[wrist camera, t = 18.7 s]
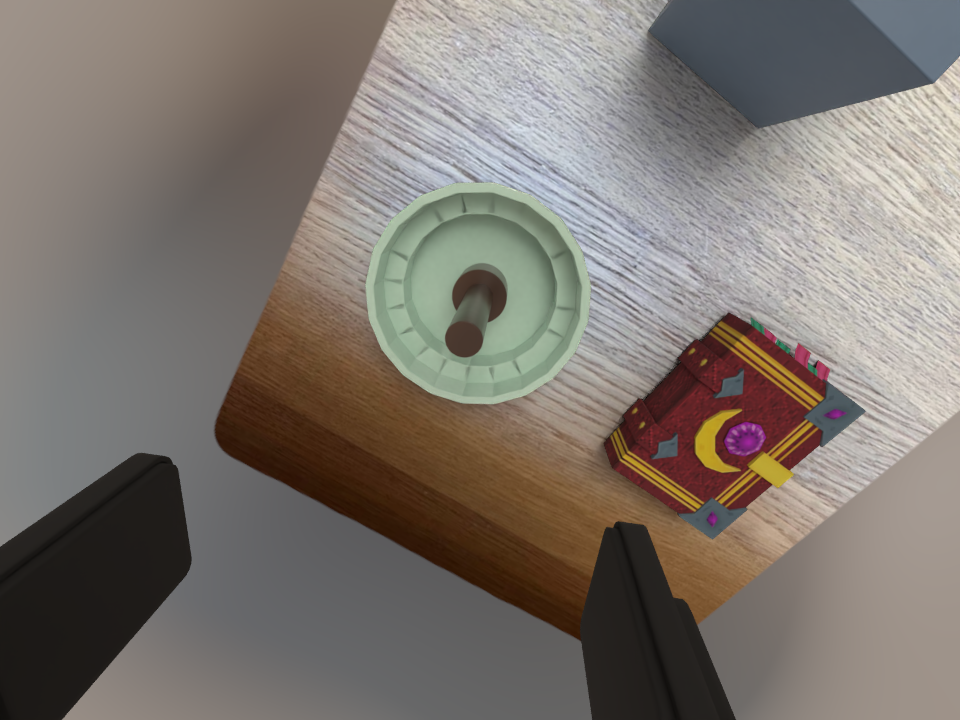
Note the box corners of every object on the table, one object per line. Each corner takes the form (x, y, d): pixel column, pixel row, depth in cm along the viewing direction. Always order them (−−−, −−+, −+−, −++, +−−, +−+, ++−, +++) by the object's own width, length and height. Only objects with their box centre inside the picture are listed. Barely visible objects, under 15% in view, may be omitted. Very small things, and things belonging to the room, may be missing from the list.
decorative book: (598, 439, 40) (609, 472, 36) (736, 295, 35) (769, 311, 30) (694, 505, 42) (716, 544, 37) (839, 376, 37) (886, 403, 32)
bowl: (355, 304, 38) (327, 325, 32) (458, 139, 33) (445, 128, 27) (502, 405, 40) (500, 440, 34) (619, 264, 35) (639, 278, 29)
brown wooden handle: (447, 294, 36) (411, 347, 24) (476, 252, 35) (453, 286, 22) (488, 323, 36) (473, 389, 24) (518, 283, 35) (518, 332, 23)
